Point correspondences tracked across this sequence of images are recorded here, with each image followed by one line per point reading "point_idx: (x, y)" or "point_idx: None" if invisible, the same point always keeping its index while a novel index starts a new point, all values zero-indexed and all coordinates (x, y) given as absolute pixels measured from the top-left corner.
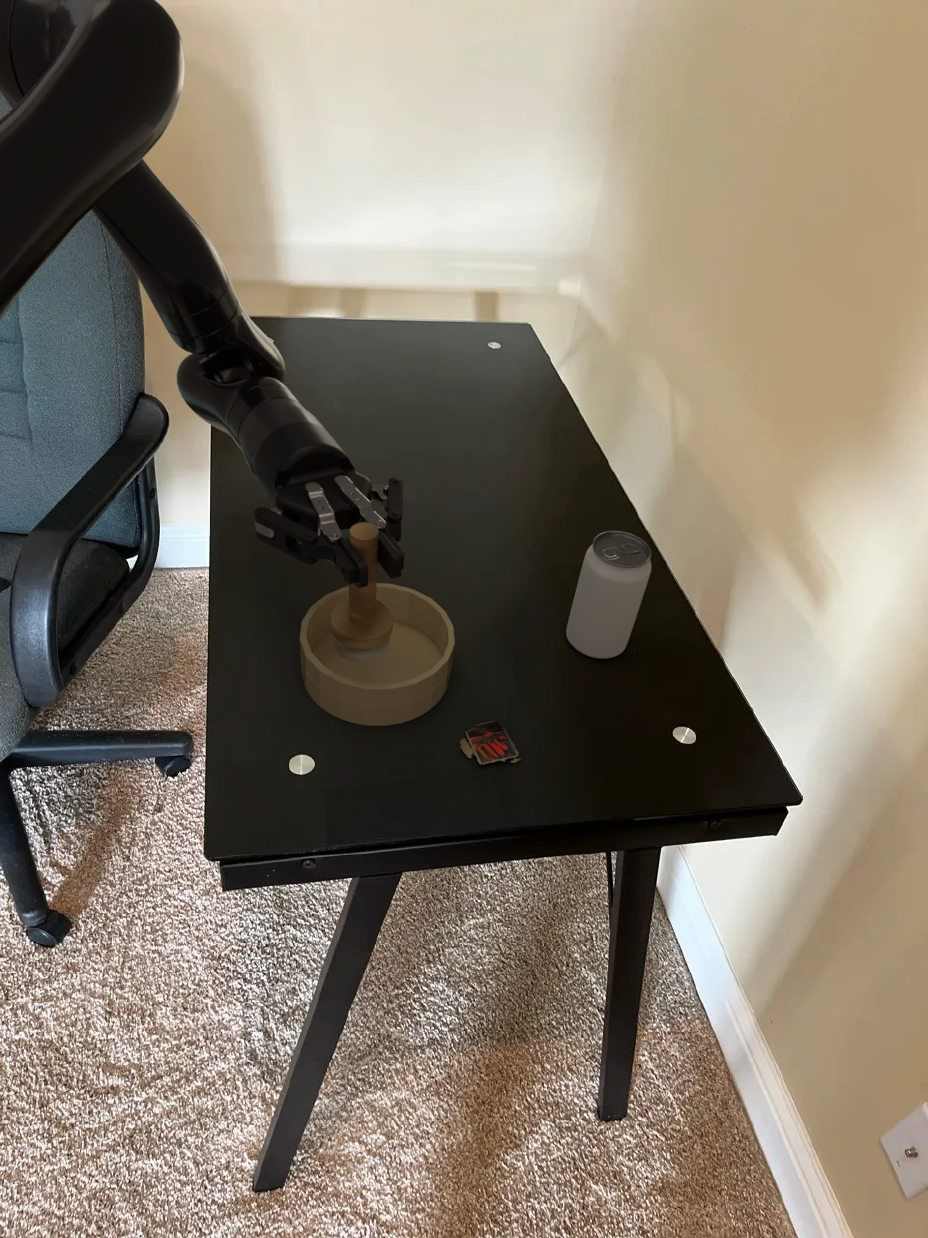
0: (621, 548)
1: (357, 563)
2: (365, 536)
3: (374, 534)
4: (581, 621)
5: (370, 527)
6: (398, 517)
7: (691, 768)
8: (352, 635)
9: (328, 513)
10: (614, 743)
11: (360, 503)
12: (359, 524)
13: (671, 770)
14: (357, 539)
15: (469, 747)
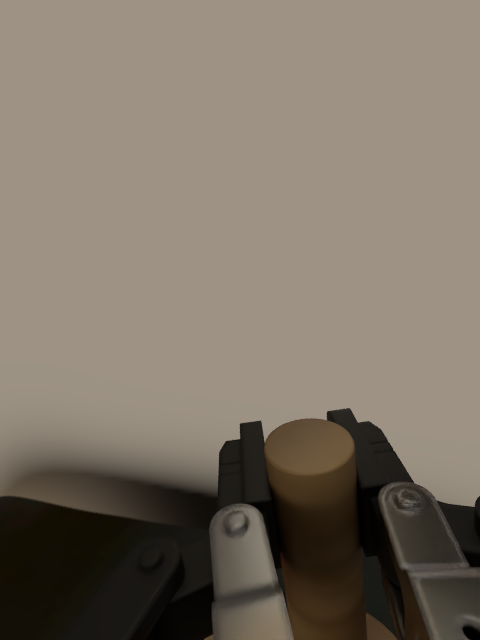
0: None
1: (350, 412)
2: (312, 424)
3: (284, 427)
4: None
5: (284, 450)
6: (154, 539)
7: (21, 534)
8: (368, 621)
9: (435, 573)
10: (45, 586)
11: (263, 612)
12: (314, 468)
13: (38, 538)
14: (337, 424)
15: (205, 638)
